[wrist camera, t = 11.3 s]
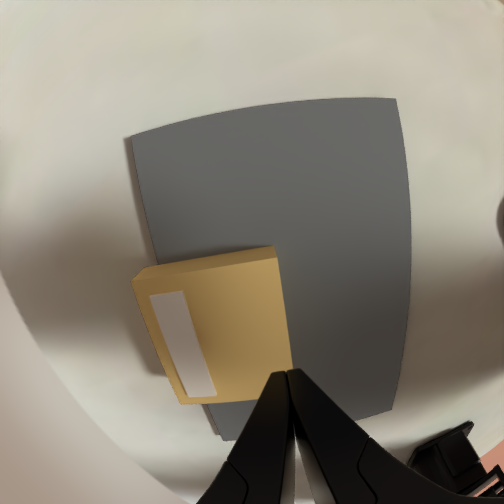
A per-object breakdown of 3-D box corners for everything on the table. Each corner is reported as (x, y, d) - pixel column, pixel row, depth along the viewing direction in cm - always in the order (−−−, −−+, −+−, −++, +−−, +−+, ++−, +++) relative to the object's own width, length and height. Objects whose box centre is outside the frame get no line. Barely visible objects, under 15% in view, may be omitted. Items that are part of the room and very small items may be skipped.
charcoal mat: (389, 405, 13) (391, 409, 13) (223, 435, 14) (223, 440, 13) (391, 100, 9) (395, 98, 8) (134, 137, 9) (130, 136, 9)
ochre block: (296, 395, 10) (180, 406, 11) (292, 372, 12) (186, 384, 12) (277, 258, 9) (128, 283, 9) (273, 245, 10) (143, 267, 10)
